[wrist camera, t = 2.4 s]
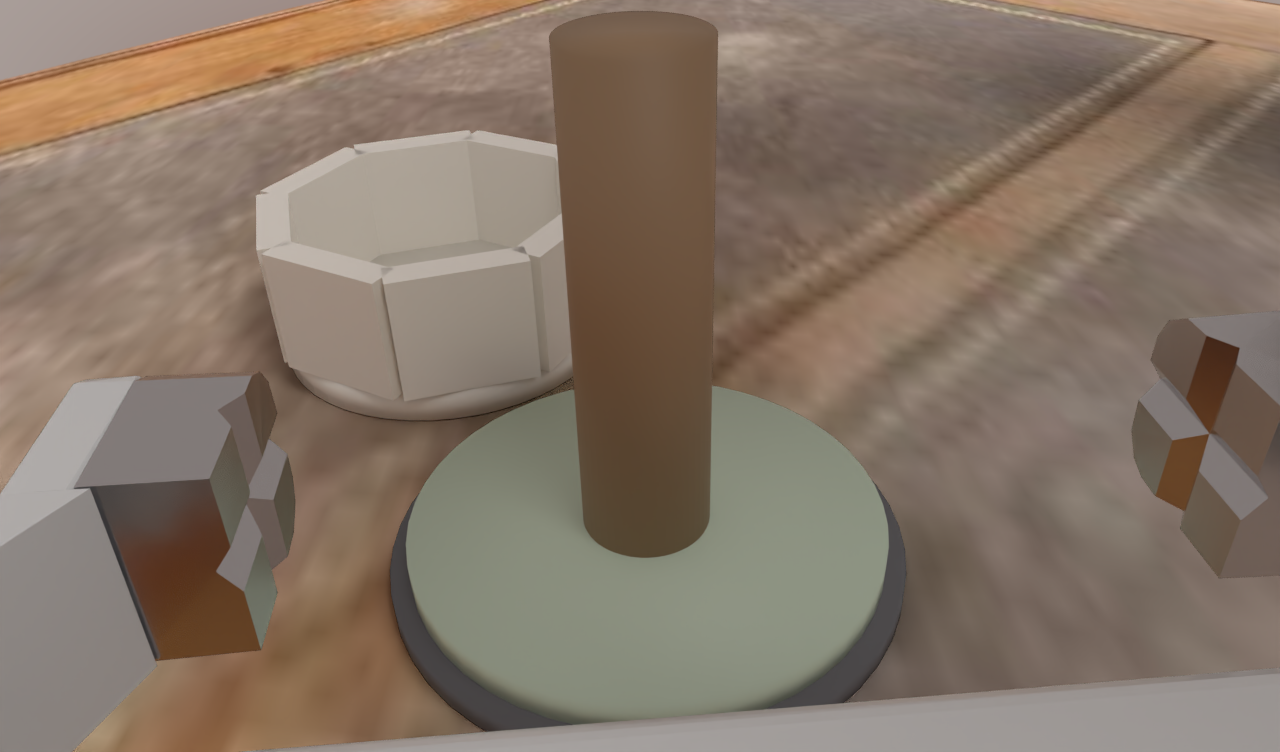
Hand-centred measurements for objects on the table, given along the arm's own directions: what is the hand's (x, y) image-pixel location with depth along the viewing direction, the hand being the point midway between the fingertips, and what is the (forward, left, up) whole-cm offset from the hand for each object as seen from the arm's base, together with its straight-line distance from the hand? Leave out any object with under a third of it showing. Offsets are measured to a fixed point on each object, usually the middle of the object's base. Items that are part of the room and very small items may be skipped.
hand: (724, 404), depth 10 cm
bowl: (-17, -18, -14) cm, 29 cm away
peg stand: (-11, -7, -13) cm, 18 cm away
